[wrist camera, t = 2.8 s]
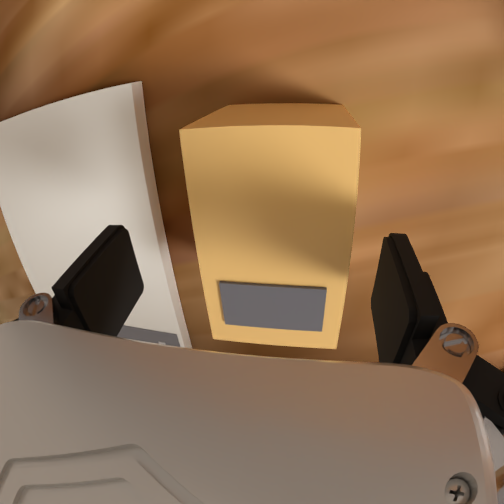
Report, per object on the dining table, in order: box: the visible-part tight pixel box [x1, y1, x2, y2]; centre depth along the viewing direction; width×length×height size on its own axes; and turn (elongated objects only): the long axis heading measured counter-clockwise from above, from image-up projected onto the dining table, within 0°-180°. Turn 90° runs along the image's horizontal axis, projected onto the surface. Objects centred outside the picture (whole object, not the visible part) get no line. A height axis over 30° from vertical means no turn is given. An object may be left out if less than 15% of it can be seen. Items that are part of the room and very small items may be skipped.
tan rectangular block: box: [179, 103, 361, 349], centre depth 15 cm, size 6×10×7 cm, turn 3°
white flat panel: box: [0, 81, 192, 348], centre depth 24 cm, size 16×28×1 cm, turn 3°
